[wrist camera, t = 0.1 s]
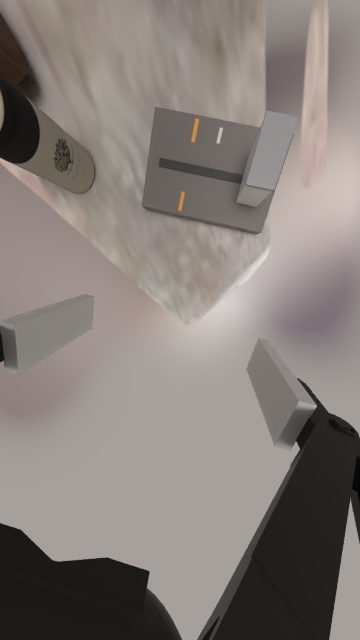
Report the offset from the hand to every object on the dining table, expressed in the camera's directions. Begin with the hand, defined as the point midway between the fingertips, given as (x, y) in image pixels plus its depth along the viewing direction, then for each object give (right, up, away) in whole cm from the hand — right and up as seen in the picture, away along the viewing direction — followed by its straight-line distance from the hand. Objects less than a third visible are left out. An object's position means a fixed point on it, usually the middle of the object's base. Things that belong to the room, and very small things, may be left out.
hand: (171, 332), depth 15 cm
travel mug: (-20, +30, +22) cm, 42 cm away
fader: (+13, +24, +16) cm, 31 cm away
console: (+6, +27, +20) cm, 34 cm away
